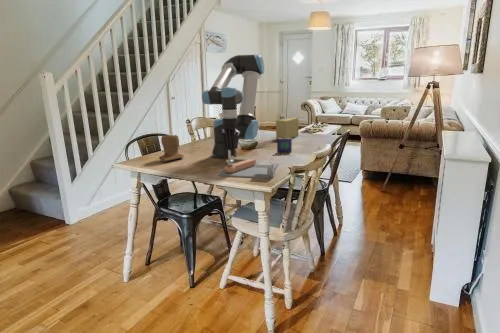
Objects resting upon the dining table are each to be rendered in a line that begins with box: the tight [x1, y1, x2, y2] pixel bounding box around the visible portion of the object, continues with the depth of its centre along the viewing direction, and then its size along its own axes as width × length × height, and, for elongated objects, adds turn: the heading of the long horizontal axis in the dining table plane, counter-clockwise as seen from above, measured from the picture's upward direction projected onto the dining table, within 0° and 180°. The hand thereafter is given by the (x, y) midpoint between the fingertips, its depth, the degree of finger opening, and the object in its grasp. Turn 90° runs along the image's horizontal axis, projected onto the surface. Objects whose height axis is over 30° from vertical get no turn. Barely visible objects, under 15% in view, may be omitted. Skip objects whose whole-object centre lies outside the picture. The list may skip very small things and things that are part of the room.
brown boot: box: [158, 134, 185, 163], centre depth 204 cm, size 15×12×15 cm
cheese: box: [275, 116, 300, 140], centre depth 264 cm, size 22×10×15 cm, turn 137°
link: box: [224, 158, 257, 173], centre depth 179 cm, size 21×5×3 cm, turn 140°
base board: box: [217, 161, 280, 180], centre depth 180 cm, size 26×26×1 cm
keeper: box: [255, 159, 276, 178], centre depth 169 cm, size 9×8×6 cm
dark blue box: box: [276, 136, 293, 154], centre depth 216 cm, size 9×3×11 cm, turn 95°
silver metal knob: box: [225, 158, 235, 166], centre depth 173 cm, size 4×4×3 cm
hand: (231, 161), depth 185 cm, fingers closed
